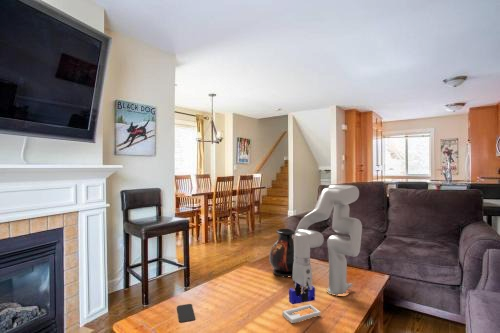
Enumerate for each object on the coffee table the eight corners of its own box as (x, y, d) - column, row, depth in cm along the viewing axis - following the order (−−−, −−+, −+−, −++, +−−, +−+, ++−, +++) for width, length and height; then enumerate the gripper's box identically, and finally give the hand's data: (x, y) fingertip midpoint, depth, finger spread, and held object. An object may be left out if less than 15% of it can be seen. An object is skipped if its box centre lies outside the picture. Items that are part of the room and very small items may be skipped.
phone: (179, 322, 125) (176, 305, 139) (179, 324, 125) (176, 307, 139) (195, 319, 127) (191, 303, 141) (195, 321, 127) (191, 305, 141)
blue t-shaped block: (309, 296, 135) (309, 283, 135) (314, 300, 131) (314, 287, 131) (287, 299, 131) (287, 287, 131) (292, 304, 127) (292, 291, 127)
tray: (310, 308, 138) (310, 304, 138) (320, 316, 131) (320, 311, 131) (282, 315, 131) (282, 311, 131) (292, 324, 124) (292, 319, 124)
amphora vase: (264, 269, 190) (264, 228, 190) (293, 265, 196) (293, 226, 196) (276, 281, 169) (277, 235, 169) (308, 277, 176) (308, 233, 175)
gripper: (320, 264, 125) (319, 305, 125) (298, 253, 140) (297, 289, 140) (306, 266, 122) (305, 308, 122) (285, 255, 137) (284, 292, 137)
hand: (301, 297), depth 131 cm, fingers closed on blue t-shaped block, 4 cm apart
